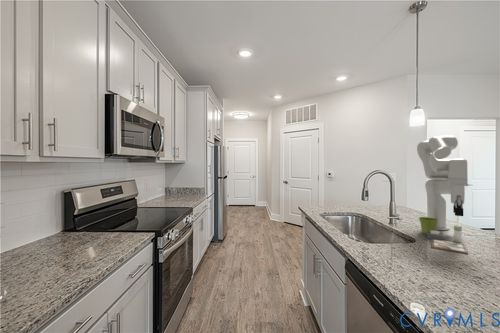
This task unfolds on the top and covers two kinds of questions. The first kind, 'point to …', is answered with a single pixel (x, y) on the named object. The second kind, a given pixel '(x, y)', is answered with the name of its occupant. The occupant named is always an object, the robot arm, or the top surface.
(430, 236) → the button box
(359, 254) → the top surface
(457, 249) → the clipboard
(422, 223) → the plant pot
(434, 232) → the button cap
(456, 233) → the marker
